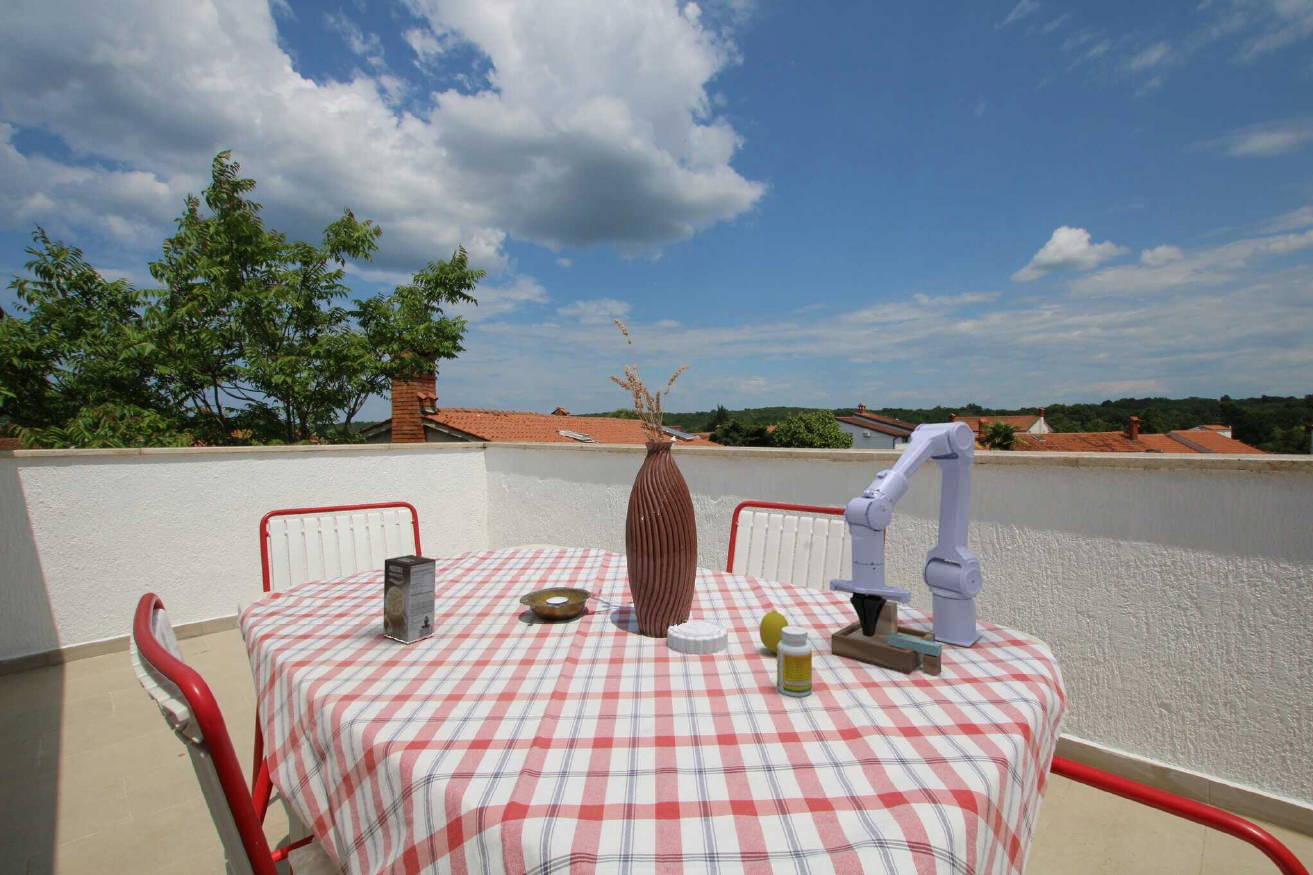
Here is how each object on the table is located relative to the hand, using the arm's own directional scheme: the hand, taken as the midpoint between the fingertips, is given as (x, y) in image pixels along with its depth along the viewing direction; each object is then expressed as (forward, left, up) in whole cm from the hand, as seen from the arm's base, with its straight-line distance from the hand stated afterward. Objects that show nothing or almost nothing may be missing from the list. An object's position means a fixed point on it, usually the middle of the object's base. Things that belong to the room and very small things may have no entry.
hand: (869, 635), depth 102 cm
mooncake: (+17, -28, -4) cm, 33 cm away
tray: (-3, +3, -4) cm, 6 cm away
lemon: (+11, -14, -4) cm, 18 cm away
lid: (-3, +1, -2) cm, 4 cm away
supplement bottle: (+23, -3, -4) cm, 23 cm away
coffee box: (+55, -74, -4) cm, 92 cm away
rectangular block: (0, +8, -1) cm, 8 cm away
